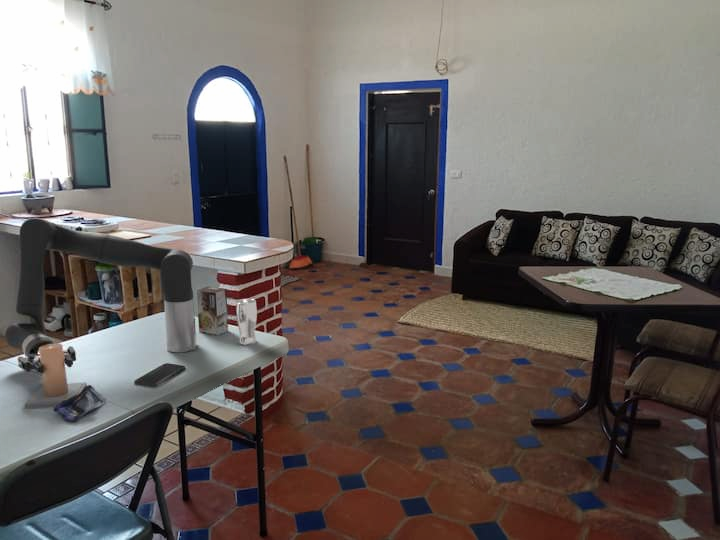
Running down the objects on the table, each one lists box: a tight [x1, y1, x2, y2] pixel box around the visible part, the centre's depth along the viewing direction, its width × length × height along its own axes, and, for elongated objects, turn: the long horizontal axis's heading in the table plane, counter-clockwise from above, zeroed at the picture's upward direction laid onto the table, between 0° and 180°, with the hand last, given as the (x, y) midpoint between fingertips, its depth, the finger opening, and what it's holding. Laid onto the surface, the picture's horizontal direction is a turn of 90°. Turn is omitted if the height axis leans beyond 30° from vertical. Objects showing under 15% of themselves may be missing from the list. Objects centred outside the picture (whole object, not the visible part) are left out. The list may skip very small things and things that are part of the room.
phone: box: [133, 362, 187, 388], centre depth 164 cm, size 8×1×15 cm
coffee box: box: [196, 286, 229, 336], centre depth 202 cm, size 9×6×16 cm
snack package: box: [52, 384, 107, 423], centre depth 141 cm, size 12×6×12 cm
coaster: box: [24, 382, 88, 409], centre depth 149 cm, size 12×12×1 cm
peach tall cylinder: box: [39, 342, 68, 397], centre depth 148 cm, size 6×6×13 cm
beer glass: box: [235, 298, 258, 346], centre depth 192 cm, size 7×7×15 cm
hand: (56, 366), depth 146 cm, fingers open, 6 cm apart
